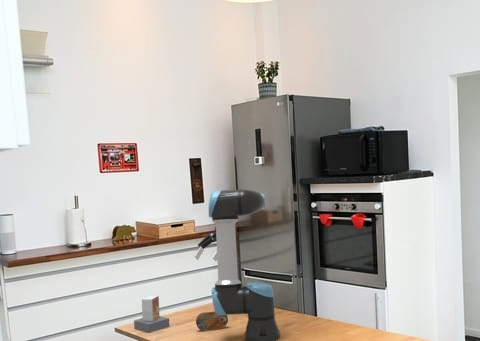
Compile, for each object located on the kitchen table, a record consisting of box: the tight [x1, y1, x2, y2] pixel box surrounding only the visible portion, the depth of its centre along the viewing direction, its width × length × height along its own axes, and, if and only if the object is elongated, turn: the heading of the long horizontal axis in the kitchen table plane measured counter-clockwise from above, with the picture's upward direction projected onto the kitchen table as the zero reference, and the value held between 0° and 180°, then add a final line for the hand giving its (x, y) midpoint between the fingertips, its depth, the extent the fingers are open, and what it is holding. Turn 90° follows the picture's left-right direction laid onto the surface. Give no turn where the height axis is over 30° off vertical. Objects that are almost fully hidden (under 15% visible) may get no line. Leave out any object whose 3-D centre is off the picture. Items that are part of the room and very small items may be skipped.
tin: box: [195, 310, 229, 332], centre depth 225 cm, size 15×3×8 cm, turn 105°
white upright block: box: [141, 295, 160, 321], centre depth 234 cm, size 8×6×10 cm
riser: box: [133, 315, 170, 334], centre depth 233 cm, size 12×12×4 cm
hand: (205, 258), depth 245 cm, fingers open, 13 cm apart
